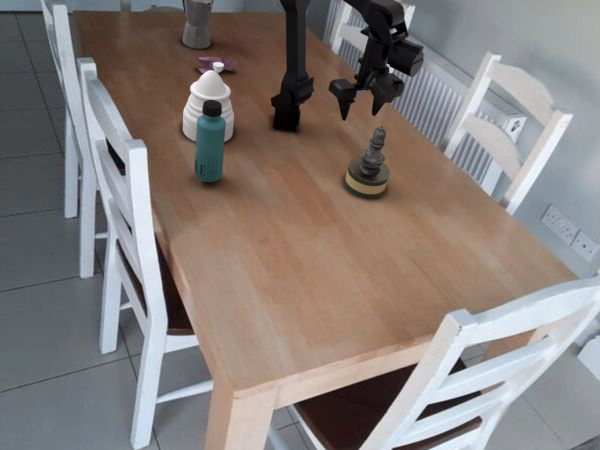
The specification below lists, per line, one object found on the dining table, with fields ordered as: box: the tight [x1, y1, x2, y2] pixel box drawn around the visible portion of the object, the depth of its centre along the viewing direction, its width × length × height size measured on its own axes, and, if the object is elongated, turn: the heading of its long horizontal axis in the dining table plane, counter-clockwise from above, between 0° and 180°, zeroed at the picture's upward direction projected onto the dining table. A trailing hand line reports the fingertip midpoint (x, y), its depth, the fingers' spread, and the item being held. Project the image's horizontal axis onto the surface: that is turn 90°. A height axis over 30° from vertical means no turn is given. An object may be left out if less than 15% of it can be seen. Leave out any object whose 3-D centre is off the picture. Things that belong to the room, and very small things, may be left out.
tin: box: [344, 156, 391, 199], centre depth 136 cm, size 10×10×5 cm
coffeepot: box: [181, 0, 214, 50], centre depth 178 cm, size 15×9×18 cm, turn 44°
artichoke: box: [196, 56, 238, 74], centre depth 170 cm, size 5×4×12 cm
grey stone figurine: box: [359, 125, 387, 175], centre depth 131 cm, size 6×6×12 cm
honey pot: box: [182, 62, 235, 143], centre depth 140 cm, size 13×13×18 cm
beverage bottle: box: [193, 100, 226, 183], centre depth 123 cm, size 6×7×20 cm
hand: (358, 117), depth 138 cm, fingers open, 9 cm apart
